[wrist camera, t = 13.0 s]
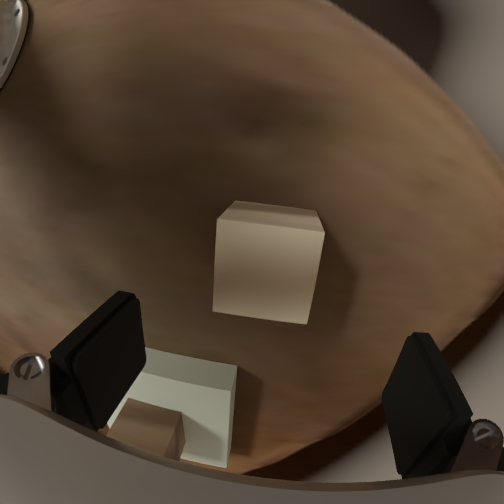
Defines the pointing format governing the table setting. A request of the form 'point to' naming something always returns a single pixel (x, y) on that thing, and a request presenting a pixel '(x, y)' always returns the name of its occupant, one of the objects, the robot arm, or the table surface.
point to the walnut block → (150, 429)
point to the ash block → (266, 261)
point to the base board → (191, 401)
